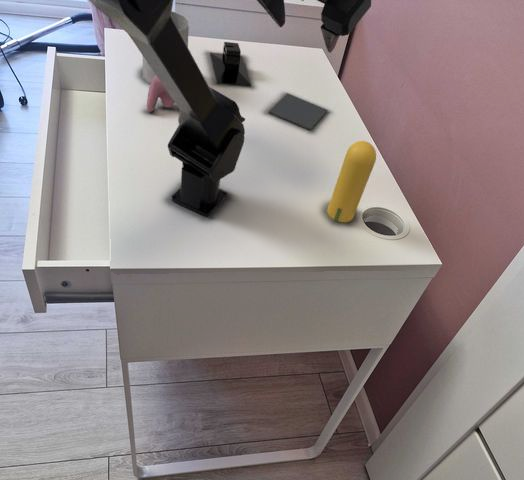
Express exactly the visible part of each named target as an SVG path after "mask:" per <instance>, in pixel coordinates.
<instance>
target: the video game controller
mask: <svg viewBox="0 0 524 480" xmlns="http://www.w3.org/2000/svg"><path fill="white" fill-rule="evenodd" d="M147 91H148V92H147V98H146V109H147V112H148V113H152V112H153V111H154V109H155V108H156V105H157V103H158V101H159V99H160V101H161V104H162V106H164V108H172V107H173V106H174V105H175V104H176V103H175V102H174V100H173V99H172V97H171V96H170V95H169V93H168V92H167V90H166V89H165V87H164V86H163V84H162V83H161V81H160V80H159V78H158V77H157V76H155V77H154V78H153V79H152V81H151V83H149V87H148V90H147Z"/></svg>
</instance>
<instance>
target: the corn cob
mask: <svg viewBox="0 0 524 480" xmlns="http://www.w3.org/2000/svg"><path fill="white" fill-rule="evenodd" d="M376 152H377V151H376V149H375V147H374V146H373V145H372V143H370V142H369V141H365V140H358V141H355V142H354V143H352V144H351V145H350V146H348V148H347V151H346V153H345V156H344V158H343V162H342V165H341V167H340V172H339V174H338V177H337V180H336V183H335V186H334V188H333V192H332V194H331V198H330V201H329V204H328V207H327V214H328V216H329V217H330V218H331V219H332V220H333V221H334V222H339V223H349V222H351V221H353V219H354V218H355V214H356V212H357V209H358V207H359V204H360V202H361V199H362V197H363V194H364V191H365V189H366V187H367V185H368V182H369V179H370V176H371V174H372V171H373V169H374V166H375V164H376V161H377V153H376Z"/></svg>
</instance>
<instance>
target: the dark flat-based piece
mask: <svg viewBox="0 0 524 480" xmlns="http://www.w3.org/2000/svg"><path fill="white" fill-rule="evenodd" d="M241 53H242V52H241V48H240V44H239V43H238V42H232V41H231V42H230V41H224V42H223V47H222V53H219V52H209V58H210V62H211V66H212V72H213V75H214V78H215V83H216V85H223V86H233V87H235V86H236V87H245V88H246V87H248V88H251V87H252V83H251V79H250V76H249V73H248V69H247V67H246V64H245V58H244V57H243V55H241Z"/></svg>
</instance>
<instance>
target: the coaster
mask: <svg viewBox="0 0 524 480" xmlns="http://www.w3.org/2000/svg"><path fill="white" fill-rule="evenodd" d="M327 113H328V109H326V108H324V107H322V106H319V105H317V104H315V103H311V102H310V101H307V100H305V99H302V98H300V97H298V96H294V95H293V94H290V93H288V92H287V93H286V94H285V95H284V96H283V97H282V98H281V99H280V100H279V101H278V102H277V103H276V104H274V106H273V107H271V108H270V109H269V110H268V114H270V115H272V116H274V117H276V118H278V119H282V120H284V121H286V122H288V123H291V124H293V125H296V126H298V127H299V128H303V129H305V130H308V131H309V132H311V131H312V130H313V129H314V128H315V126H316V125H317V124H318V123H319V122H320V121H321V120H322V118H323V117H324V116H325V115H326V114H327Z"/></svg>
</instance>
